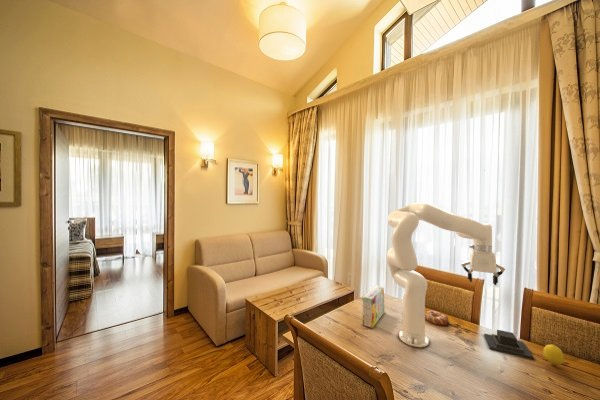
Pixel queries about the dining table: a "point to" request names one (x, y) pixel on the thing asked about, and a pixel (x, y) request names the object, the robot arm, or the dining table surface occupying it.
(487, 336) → the base pad
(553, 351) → the lemon
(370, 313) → the snack box
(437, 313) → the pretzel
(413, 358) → the dining table surface
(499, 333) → the black block
